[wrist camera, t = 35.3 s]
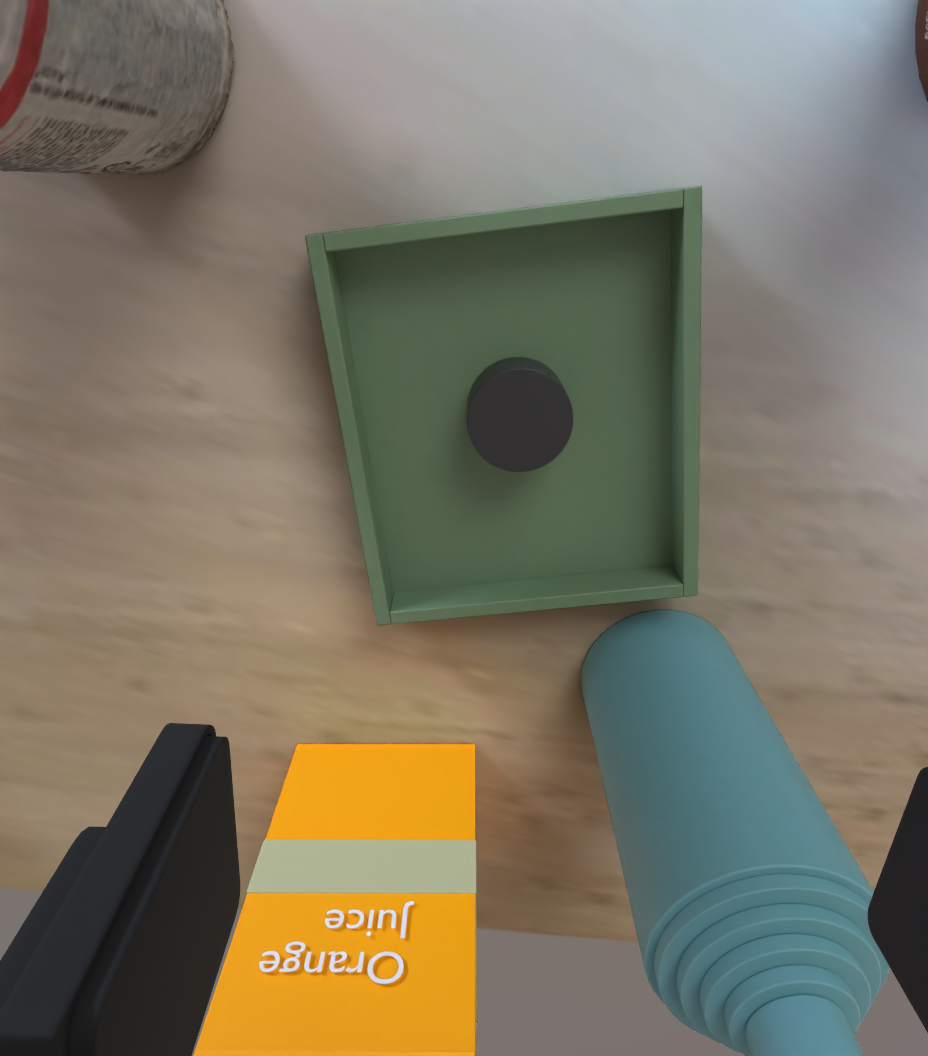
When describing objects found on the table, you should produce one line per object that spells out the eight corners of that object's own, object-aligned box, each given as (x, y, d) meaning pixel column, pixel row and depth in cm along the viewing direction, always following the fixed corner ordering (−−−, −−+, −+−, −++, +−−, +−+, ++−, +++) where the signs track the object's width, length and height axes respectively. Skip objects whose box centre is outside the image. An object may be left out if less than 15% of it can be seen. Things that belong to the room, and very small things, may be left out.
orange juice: (477, 860, 39) (479, 1443, 20) (310, 859, 39) (163, 1439, 21) (476, 740, 36) (478, 1301, 17) (294, 740, 36) (106, 1296, 17)
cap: (568, 448, 29) (576, 466, 27) (472, 458, 30) (472, 477, 27) (563, 351, 28) (570, 362, 26) (462, 362, 28) (461, 374, 26)
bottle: (584, 742, 36) (690, 1250, 18) (576, 616, 33) (692, 1072, 15) (730, 730, 35) (982, 1236, 18) (735, 602, 33) (1037, 1052, 15)
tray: (383, 599, 33) (377, 626, 31) (317, 233, 27) (304, 235, 25) (683, 570, 32) (698, 596, 30) (684, 187, 26) (702, 185, 24)
